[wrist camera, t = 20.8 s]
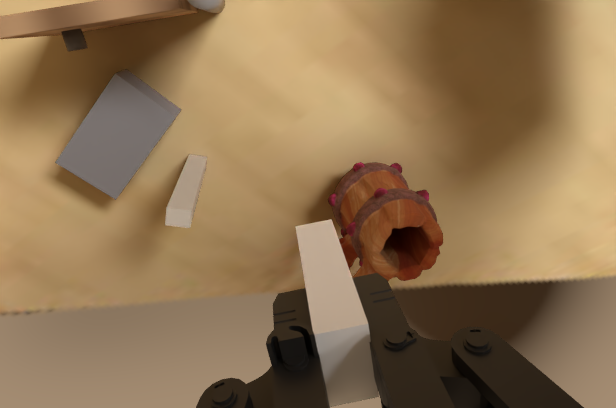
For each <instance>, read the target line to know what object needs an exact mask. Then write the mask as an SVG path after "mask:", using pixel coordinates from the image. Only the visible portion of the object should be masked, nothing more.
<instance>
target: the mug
mask: <svg viewBox="0 0 616 408" xmlns="http://www.w3.org/2000/svg"><path fill="white" fill-rule="evenodd" d="M401 172H402V167H401V165H399V164H398V163H394V164H392V165H391V166H388V165H386V164H381V163H366V164H363V163H361V162H360V163H356V164H355V165H354V166H353V169H352V170H351V171H349V172H348V173H347V174H346V175H345V176H344V177H343V178H342V179H341V181H340V182H339V184H338V185H337V187H336V189H335V192H334V194H332V195H330V196H329V198H328V202H329V204H330V205H332V209H333V213H334V215H335V218H336V220H337V222H338V224H339V225H340V227H341V228H342V230H341V235H342V236H343V238H341V239H339V242H340V245H341V247H342V250H343V253H344V256H345V259H346V262H347V264H348V267H349V270H350V267H351V266H352V264H353V262H354V260H355V259H356V258H357V257H359V258H360V261H359V263H360V266H361V268H360V269H359V270H358V271H357V273H356V274H355V275H354V276H353V277H352V278H354V277H359V276H363V275H368V274H373V273H378V274H380V275H381V276H382V277H384V278H385V279H386V280H387V281H389V279H391V278H393V277H398V279H400V280H403V281H406V280H410V279H415V278H417V277H418V276H420V274H421V272H422V270H427V269H430V268H431V267H432V266H433V265H434V264H435V262H436V258H437V256H438V255H439V254H440V251H439V246H441V245H442V244H443V233H442V231H441V229H440V226H439V225H438V224H437V218H436V214H435V212H434V210H433V208H432V206H431V205H430V204H429V202H428V200H429V194H428V192H427V191H426V190H422V191H417V192H414V191H412V190H409V188H408V185H407V182H406V180H405V179H404V178H403V176H402V175H401Z"/></svg>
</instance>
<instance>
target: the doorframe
mask: <svg viewBox="0 0 616 408" xmlns="http://www.w3.org/2000/svg"><path fill="white" fill-rule="evenodd" d="M188 2H189V3H190V4H191V5H192V6H194V7H196V8H199V9H202V10H205V11H208V12H212V13H219V12H221V11H222V10H223V9H224V6H225V0H188ZM206 163H207V157H205V156H198V155H191V154H189V156H188V158H187V161H186V163H185V165H184V168H183V170H182V172H181V175H180V177H179V179H178V182H177V184H176V187H175V189H174V191H173V194H172V196H171V198H170V201H169V203H168V205H167V208H166V220H165V225H168V226H177V227H186V228H190V227H191V223H192V219H193V215H194V212H195V208H196V204H197V201H198V197H199V193H200V189H201V186H202V182H203V178H204V174H205V171H206Z"/></svg>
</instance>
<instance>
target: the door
mask: <svg viewBox="0 0 616 408" xmlns="http://www.w3.org/2000/svg"><path fill="white" fill-rule="evenodd" d="M192 13H198V8H196V7H194V6H192V5H191V4H190V3H189V2H188V0H98V1H92V2H86V3H79V4H73V5H67V6H61V7H55V8H49V9H42V10H36V11H30V12H24V13H18V14H12V15H5V16H0V39H9V38H24V37H39V36H54V35H62V36H63V39H64V41H65V44H66V47H67V50H68V51H74V50H80V49H86V48H88V47H87V44H86V41H85V38H84V35H83V33H82V32H84V31H90V30H96V29H102V28H108V27H114V26H120V25H126V24H132V23H138V22H144V21H150V20H156V19H162V18H168V17H174V16H180V15H186V14H192Z"/></svg>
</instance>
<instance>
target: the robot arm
mask: <svg viewBox="0 0 616 408" xmlns="http://www.w3.org/2000/svg"><path fill="white" fill-rule="evenodd" d="M295 227H296V233H297V239H298V245H299V251H300V257H301V263H302V269H303V275H304V281H305V287H306V288H304V289H299V290H295V291H290V292H285V293H280V294H278V295H277V297H276V299H275V301H274V303H273V315H274V316H273V317H274V330H273V331H272V332H271V334H270V335H269V336H268V338H267V342H266V345H267V349H268V353H269V357H270V360H271V364H272V366H271V367H270V369H269V370H268V371H267V372H266V373H265V374H264V375H262V376H261V377H259V378H258V379H256V380H254V381H252V382H250V383H248V384H245V383H244V382H243V381H241V380H240V379H235V378H228V379H222V380H220V381H218V382H216V383H214V384H212V385H211V386H210V387H209V388H207V389H206V390H205V391H204V393H203V394H202V396H201V398H200V400H199V402H198V404H197V406H196V408H330V407H332V406H336V405H341V404H346V403H351V402H356V401H361V400H365V399H370V398H375V397H379V396H378V392H379V395H380V398H381V404H382V408H584V407H582V406H581V405H580V404H579V403H578V402H576V401H575V400H574V399H573V398H572V397H571V396H569V395H568V394H567V393H566V392H565V391H563V390H562V389H561V388H560V387H559V386H558V385H556V384H555V383H554V382H553V381H552V380H550V379H549V378H548V377H547V376H546V375H545V374H543V373H542V372H541V371H540V370H538V369H537V368H536V367H535V366H534V365H533V364H532V363H530V362H529V361H528V360H527V359H526V358H524V357H523V356H522V355H521V354H520V353H519V352H517V351H516V350H515V349H514V348H513V347H511V346H510V345H509V344H508V343H507V342H505V341H504V340H503V339H502V338H501V337H500V336H498V335H497V334H495V333H494V332H492V331H490V330H488V329H484V328H481V327H468V328H464V329H460V330H459V331H457V332H456V333H455V334H454V335H453V337H452V339H451V341H438V340H430V339H426V338H423V337H421V336H419V335H418V333H417V332H416V331H415V330H413V329H411V328H410V327H409V325H408V323H407V321H406V319H405V317H404V315H403V312H402V311H401V308H400V307H399V304H398V302H397V300H396V299H395V296H394V294H393V292H392V290H391V287H390V285H389V283H388V281H387V280H386V279H385V278H384V277H382V276H381V275H380V274H378V273H373V274H368V275H363V276H359V277H354V278H352V276H351V273H350V270H349V267H348V264H347V262H346V259H345V256H344V253H343V250H342V247H341V245H340V242H339V239H338V236H337V233H336V230H335V227H334V225H333V222H332V219H330V220H325V221H320V222H315V223H310V224H305V225H300V226H295Z"/></svg>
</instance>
